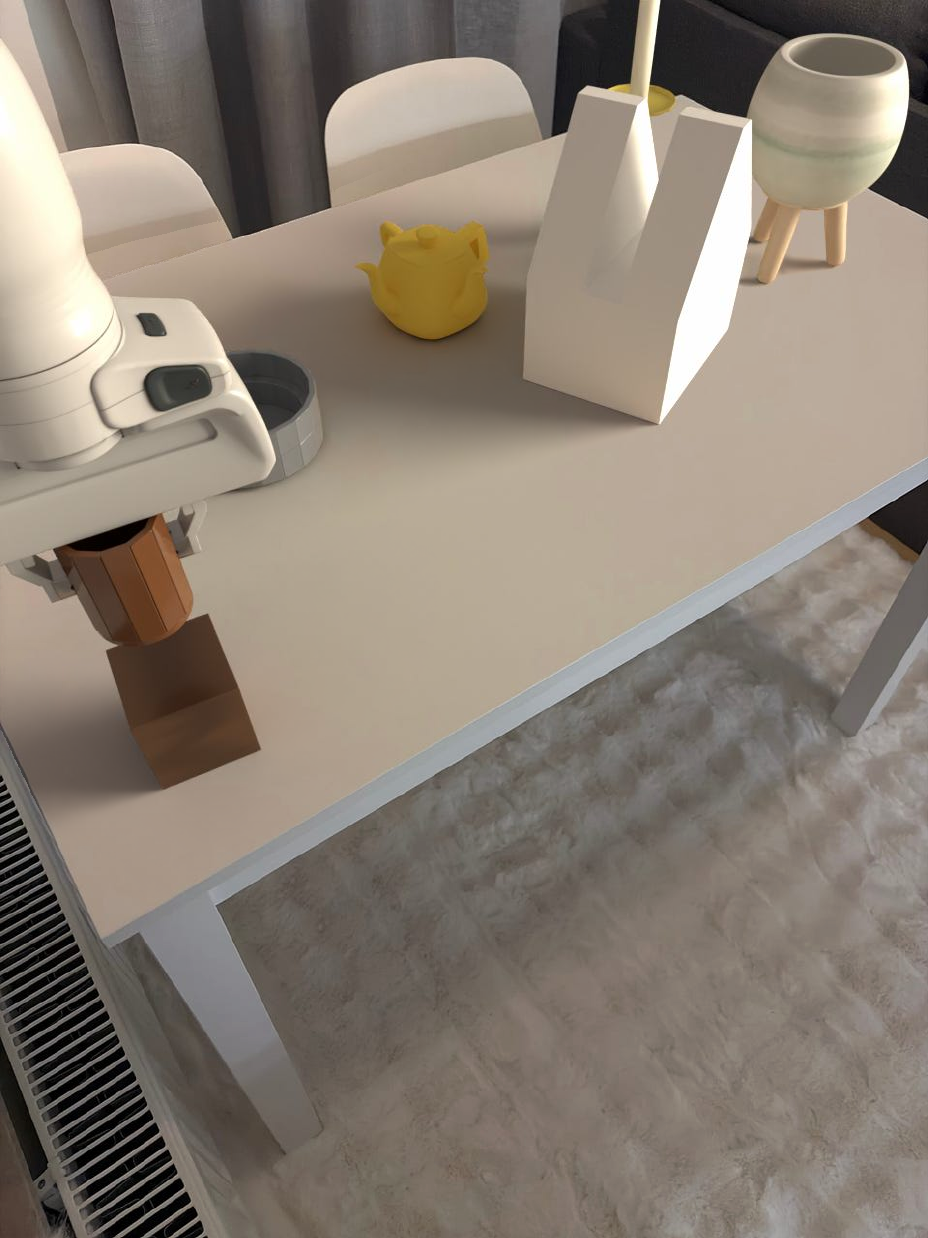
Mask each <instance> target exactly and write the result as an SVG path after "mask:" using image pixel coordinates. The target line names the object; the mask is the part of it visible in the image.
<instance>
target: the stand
mask: <svg viewBox="0 0 928 1238" xmlns="http://www.w3.org/2000/svg"><path fill="white" fill-rule="evenodd" d="M105 653H106V657H107V660H108V663H109V666H110V671H111V673H112V677H113V679H114V683H115V685H116V689H117V693H118V695H119V698H120V702H121V705H122V708H123V712H124V715H125V719H126V721H127V724H128V725H127V726H128V728H129V731H130V732H131V734H132V736H133V737H134V740H135V741H136V743H137V745H138V747H139V749H140V751H141V753H142V754H143V756H144V758H145V759H146V762H147V763H148V765H149V767H150V768H151V770H152V772H153V774H154V776H155V778H156V779H157V781H158V784H159V785H160V787H161V789H162V790H166V789H169V788H171V787H173V786H176V785H178V784H181V783H184V782H186V781H189V780H191V779H193V778H195V777H199V776H200V775H202V774H205V773H207V772H211V771H213V770H215V769H217V768H220V767H223V766H225V765H227V764H230V763H233V762H235V761H236V760H240V759H241V758H244V757H247V756H249V755H252V754H254V753H256V752H260V751H261V750H262V748H261V745H260V742H259V740H258V736H257V734H256V731H255V728H254V726H253V723H252V720H251V717H250V715H249V712H248V709H247V706H246V703H245V700H244V698H243V695H242V693H241V690H240V687H239V684H238V682H237V680H236V677H235V675H234V672H233V670H232V668H231V667H232V666H231V664H230V663H229V660H228V658H227V656H226V653H225V651H224V648H223V646H222V643H221V640H220V637H219V636H218V633H217V631H216V629H215V626H214V624H213V621H212V619H211V616H210V614H209V613H204V614H202V615H199V616H196V617H194V618H190V619H189V620H188V619H187V620H186V622H185V623H184V624H183V625H182V626H181V627H180V628H179V629H178V630H177V631H176V632H175V633H173V634H172V635H170V636H169V637H167V638H165V639H163V640H161V641H159V642H156V643H153V644H150V645H146V646H139V647H125V646H119V645H115V646H114V647H111V648H107V649H105Z"/></svg>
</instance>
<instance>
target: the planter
mask: <svg viewBox="0 0 928 1238" xmlns="http://www.w3.org/2000/svg"><path fill="white" fill-rule="evenodd" d="M909 82H910V79H909V69H908V65H907V60H906V57H905V56H904V55H903V53H902V52H901V51H900V50H898V49H897V48H895V47H894V46H892V45H890V44H888V43H885V42H883V41H882V40H877V39H874V38H871V37H866V36H861V35H857V34H855V35H854V34H847V33H816V34H808V35H803V36H798V37H796V38H793V39H790V40H788V41H787V42H785V43H784V44H782V45H781V46H780V47H779V48H778V50H776V52H775V54H774V55H773V56H772V58H771V59H770V61H769V62H768V64H767V66H766V68H765V69H764V71H763V73H762V74H761V77H760V78H759V81H758V83H757V85H756V87H755V90H754V92H753V95H752V97H751V101H750V104H749V107H748V110H747V113H746V117H745V118H748V119H752V157H751V177H752V178H753V179H754V181H755V182H756V184H757V185H758V186H759V187H760V189H761V191H762V192H763V194H764V195H765V196H766V198H767V200H766V201H765V204H764V206H763V209H762V211H761V214H760V216H759V218H758V220H757V223H756V225H755V228H754V230H753V234H752V235H753V239H754V240H755V241H757V242H761V243H764V242H766V246H765V248H764V251H763V255H762V258H761V261H760V264H759V268H758V272H757V279H758V281H759V282H761V283H764V284H770V283H773V282H774V281H775V280H776V278H777V275H778V273H779V270H780V268H781V265H782V264H783V261H784V258H785V255H786V253H787V250H788V249H789V245H790V242H791V240H792V238H793V235H794V232H795V229H796V227H797V224H798V222H799V219H800V217H801V214H802V211H823V218H824V219H823V223H824V225H823V226H824V241H825V243H824V244H825V245H824V246H825V261H826V263H827V264H828V265H830V266H833V267H837V266H840V265H842V264H843V263H844V261H845V259H846V249H847V219H848V204H849V203H848V202H849V201H850V200H852V199H854V198H855V197H857V196H858V195H861V194H862V193H863V192H865V191H866V190H867V189H869V188H870V187H871V186H872V185H873V184H874V183H875V182H876V181H877V180H878V179H879V178H881V176H882V175H883V173H884V172H885V171H886V170H887V168H888V167H889V165H890V164H891V162H892V160H893V158H894V157H895V154H896V152H897V150H898V147H899V145H900V142H901V139H902V136H903V133H904V129H905V124H906V120H907V115H908V108H909V107H908V106H909V96H910V83H909Z"/></svg>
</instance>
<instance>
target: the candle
mask: <svg viewBox="0 0 928 1238" xmlns="http://www.w3.org/2000/svg"><path fill="white" fill-rule="evenodd" d="M660 4H661V0H639V4H638V13H637V22H636V33H635V40H634V49H633V56H632V57H633V58H632V66H631V75H630V77H631V78H630V83H625V84H617V85H615V86H612V87H609V88H607V90H612V91H617V92H621V93H626V94H631V95H636V96H641V97H646V98H647V104H648V111H649V118H651V117H656V116H657V117H658V116H662V115H663V114H666V113H668V112H670V111H671V110H672V109H673V108H674V107H675V105H676V95H674V94H673V93H672V92H671V91H670V90H668V89H666V88H663V87H661V86H659V85H652V84H650V83H651V74H652V66H653V60H654V59H653V58H654V51H655V44H656V37H657V36H656V35H657V28H658V27H657V26H658V19H659V11H660Z"/></svg>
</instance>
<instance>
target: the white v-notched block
mask: <svg viewBox="0 0 928 1238" xmlns="http://www.w3.org/2000/svg"><path fill="white" fill-rule="evenodd" d="M607 89H608V88H607ZM607 89H606V88H603V87H602V88H601V87H598V86H597V87H596V86H592V85H586V86H585V87H584V88H583V89H581V90H580V91H579V92H578V93H577V95H576V99H575V102H574V106H573V110H572V114H571V117H570V121H569V125H568V128H567V131H566V135H565V138H564V143H563V145H562V149H561V153H560V158H559V161H558V164H557V167H556V170H555V175H554V178H553V182H552V186H551V189H550V193H549V197H548V200H547V204H546V207H545V211H544V215H543V219H542V222H541V225H540V228H539V233H538V237H537V240H536V243H535V247H534V250H533V254H532V257H531V262H530V264H529V265H530V266H529V269H528V272H527V276H526V290H525V291H526V293H525V319H524V321H525V322H524V344H523V346H524V349H523V370H522V371H523V374H522V376H523V377H522V380H524V381H528V382H531V383H534V384H536V385H540V386H543V387H545V388H548V389H551V390H555V391H557V392H560V393H563V394H565V395H566V394H567V395H569V396H573V397H575V398H579V399H581V400H585V401H588V402H591V403H594V404H596V405H600V406H602V407H604V408H609V409H611V410H615V411H617V412H620V413H623V414H625V415H628V416H631V417H632V416H633V417H635V418H638V419H640V420H641V419H642V420H644V421H647V422H650V423H653V424H656V425H661V423H662V422H663V420H664V419H665V417H666V416H667V415H668V414H669V412H670V410H671V409H672V408H673V406H674V405H675V404H676V402H677V400H678V399H679V398H680V397H681V395H682V393H683V392H684V391H685V390H686V388H687V387H688V385H689V384H690V382H691V381H692V379H693V378H694V377H695V376H696V374H697V373H698V371H699V370H700V368H701V367H702V366H703V365H704V363H705V361H706V360H707V358H708V357H709V356H710V354H711V353H712V352H713V350H714V349H715V347H716V346H717V344H718V343H719V342H720V340H721V339H722V338H723V336H724V335H725V334H726V332H727V331H728V329H729V327H730V326H729V325H730V321H731V317H732V312H733V307H734V303H735V300H736V295H737V291H738V286H739V283H740V277H741V273H742V269H743V265H744V260H745V256H746V252H747V247H748V243H749V239H750V234H751V230H752V174H751V157H752V119H748V118H746V117H742V116H737V115H733V114H727V113H722V112H719V111H713V110H708V109H704V108H698V107H694V106H689V105H688V106H685V108H684V109H683V110H682V111H681V112H680V113H679V114H678V116H677V120H676V123H675V126H674V129H673V132H672V136H671V139H670V142H669V145H668V149H667V151H666V154H665V157H664V161H663V164H662V167H661V169H660V170H661V171H660V174H659V173H658V165H657V160H656V153H655V145H654V138H653V131H652V126H651V120H650V119H651V117H649V111H648V104H647V98H646V97H641V96H636V95H631V94H626V93H621V92H617V91H612V90H607Z"/></svg>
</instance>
